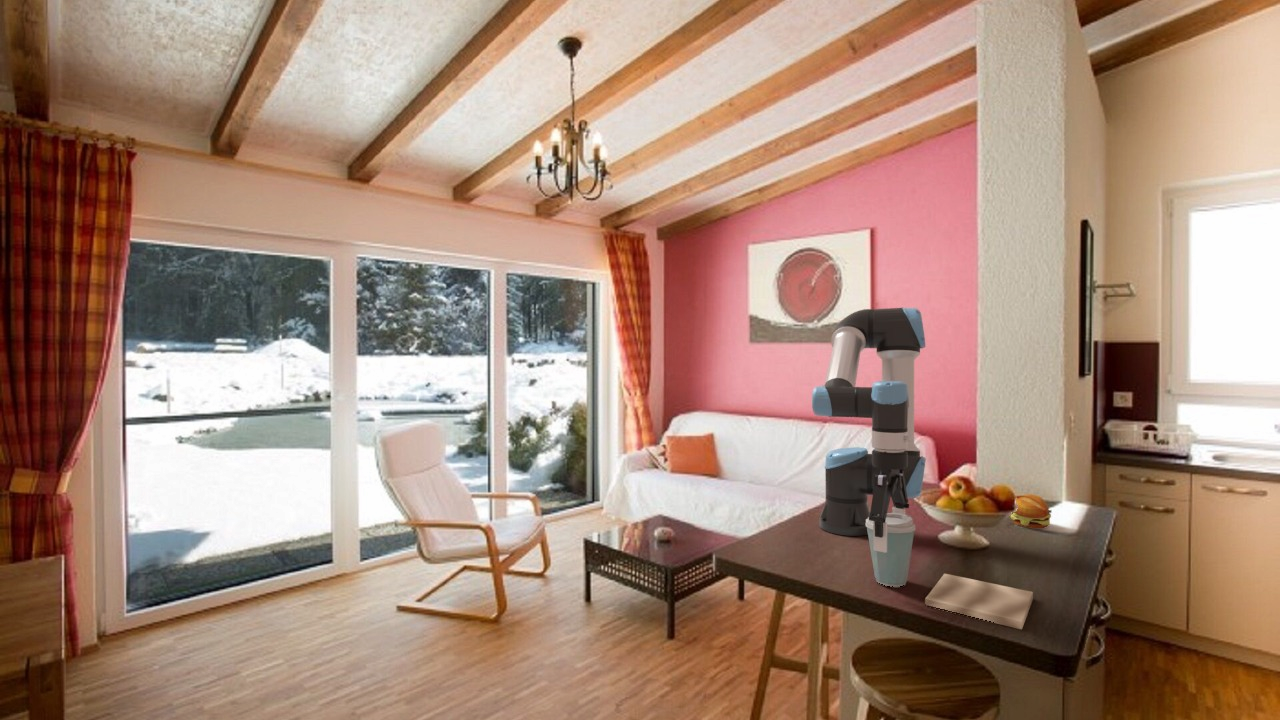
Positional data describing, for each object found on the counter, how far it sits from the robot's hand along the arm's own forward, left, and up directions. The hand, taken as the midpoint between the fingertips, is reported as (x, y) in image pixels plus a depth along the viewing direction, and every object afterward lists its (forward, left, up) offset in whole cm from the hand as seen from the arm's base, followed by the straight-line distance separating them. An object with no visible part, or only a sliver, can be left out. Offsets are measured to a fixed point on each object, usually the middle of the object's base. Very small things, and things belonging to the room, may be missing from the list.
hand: (889, 543), depth 137 cm
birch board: (+18, 0, -9) cm, 20 cm away
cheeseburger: (+20, +68, -9) cm, 71 cm away
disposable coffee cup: (0, 0, -9) cm, 9 cm away
